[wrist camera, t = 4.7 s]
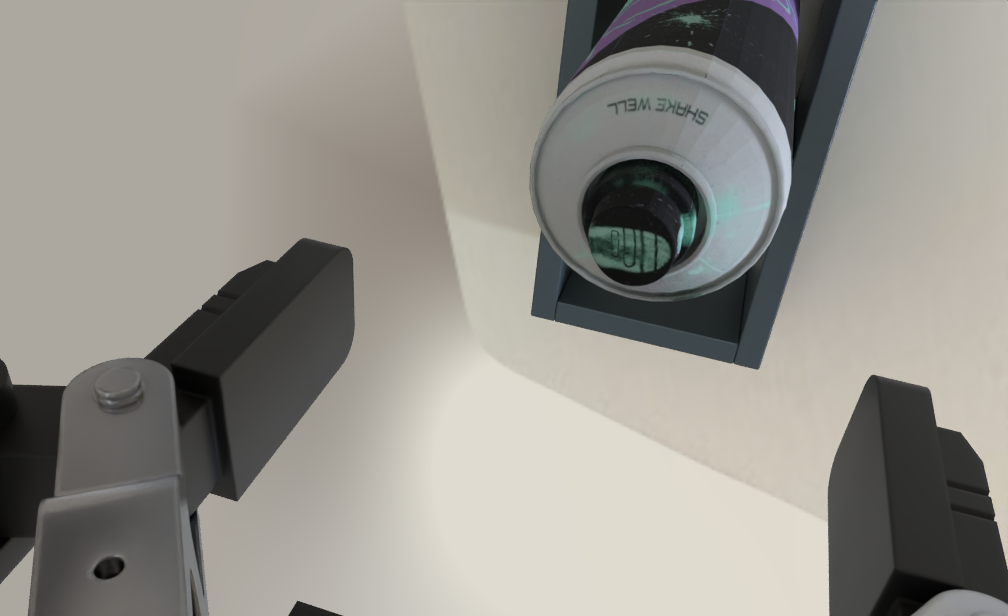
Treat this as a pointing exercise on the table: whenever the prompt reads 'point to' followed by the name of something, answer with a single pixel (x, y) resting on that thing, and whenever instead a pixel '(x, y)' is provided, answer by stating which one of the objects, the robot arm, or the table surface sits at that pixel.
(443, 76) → the table surface
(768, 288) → the divided storage bin
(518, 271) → the table surface
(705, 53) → the spray can
